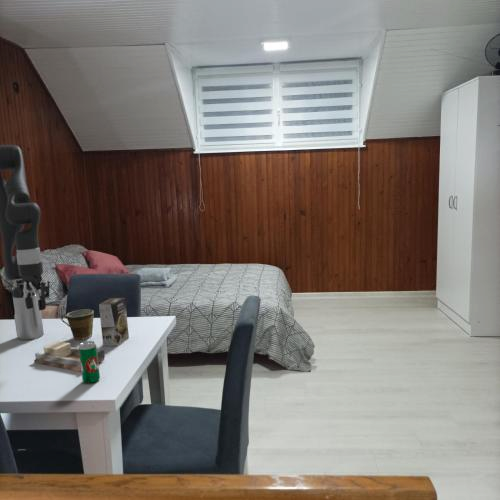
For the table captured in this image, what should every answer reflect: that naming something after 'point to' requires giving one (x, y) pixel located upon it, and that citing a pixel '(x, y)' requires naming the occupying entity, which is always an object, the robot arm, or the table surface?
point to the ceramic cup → (80, 323)
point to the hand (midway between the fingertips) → (36, 308)
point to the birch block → (58, 349)
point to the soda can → (89, 362)
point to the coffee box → (113, 321)
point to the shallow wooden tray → (65, 359)
